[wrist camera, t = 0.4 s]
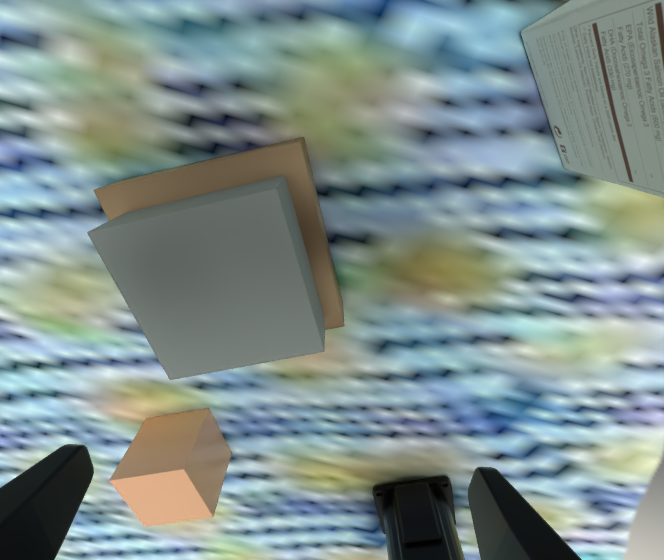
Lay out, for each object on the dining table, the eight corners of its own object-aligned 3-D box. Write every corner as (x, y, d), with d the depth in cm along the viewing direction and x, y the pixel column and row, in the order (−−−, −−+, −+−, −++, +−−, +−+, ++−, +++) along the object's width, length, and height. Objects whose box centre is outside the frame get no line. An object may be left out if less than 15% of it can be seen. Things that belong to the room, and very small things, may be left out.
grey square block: (324, 318, 20) (324, 351, 17) (190, 344, 20) (170, 380, 18) (285, 174, 16) (276, 188, 14) (125, 212, 17) (87, 232, 14)
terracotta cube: (232, 452, 28) (213, 517, 24) (173, 461, 29) (144, 526, 24) (209, 407, 26) (183, 469, 22) (146, 417, 27) (109, 480, 22)
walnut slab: (342, 300, 23) (344, 326, 20) (196, 327, 24) (178, 356, 21) (304, 136, 18) (299, 141, 16) (126, 178, 19) (93, 190, 17)
